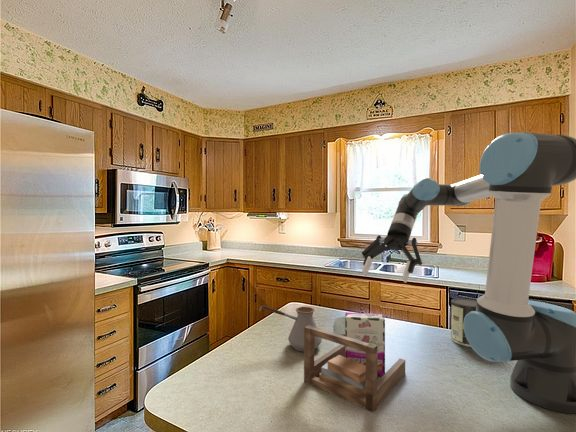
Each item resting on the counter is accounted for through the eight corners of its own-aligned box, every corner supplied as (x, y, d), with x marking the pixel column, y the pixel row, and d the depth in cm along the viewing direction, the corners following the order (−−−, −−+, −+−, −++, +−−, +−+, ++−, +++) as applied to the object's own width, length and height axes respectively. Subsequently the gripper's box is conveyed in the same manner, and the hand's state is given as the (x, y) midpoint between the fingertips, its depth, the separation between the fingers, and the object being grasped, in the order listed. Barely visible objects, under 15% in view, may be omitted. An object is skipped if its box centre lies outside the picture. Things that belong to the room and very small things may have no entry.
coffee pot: (317, 339, 113) (317, 297, 113) (325, 353, 102) (326, 307, 101) (258, 342, 110) (258, 300, 110) (260, 357, 99) (260, 310, 98)
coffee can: (487, 341, 111) (488, 302, 111) (477, 350, 105) (478, 308, 104) (457, 333, 119) (457, 296, 119) (445, 340, 112) (446, 301, 112)
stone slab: (334, 342, 114) (362, 339, 114) (334, 334, 114) (361, 332, 114) (332, 321, 137) (354, 319, 136) (331, 315, 137) (354, 312, 136)
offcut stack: (377, 389, 81) (377, 366, 81) (366, 402, 76) (366, 377, 76) (331, 371, 90) (331, 351, 90) (318, 381, 85) (318, 359, 85)
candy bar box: (382, 368, 92) (383, 313, 92) (385, 377, 87) (385, 319, 87) (344, 365, 94) (345, 311, 94) (344, 373, 89) (345, 316, 89)
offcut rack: (405, 374, 89) (406, 322, 89) (373, 412, 72) (373, 348, 72) (344, 353, 102) (344, 307, 102) (303, 381, 85) (304, 327, 85)
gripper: (439, 237, 107) (425, 290, 96) (371, 233, 123) (352, 277, 112) (435, 223, 103) (420, 275, 92) (365, 220, 119) (345, 265, 108)
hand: (383, 276), depth 102 cm, fingers open, 13 cm apart
